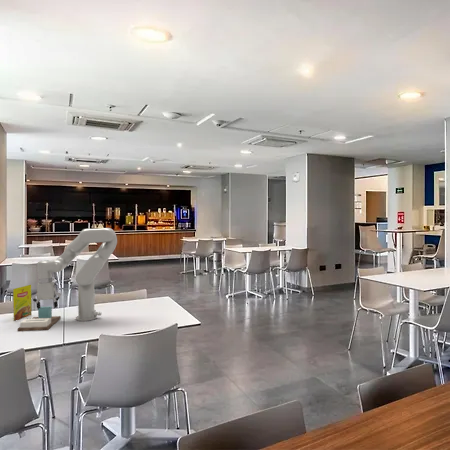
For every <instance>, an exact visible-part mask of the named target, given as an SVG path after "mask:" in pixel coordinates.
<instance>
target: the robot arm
mask: <svg viewBox="0 0 450 450" xmlns="http://www.w3.org/2000/svg"><path fill="white" fill-rule="evenodd" d="M96 243H101V244H100V246H99V247H98V249H97V250H96V252H94V254H93V255H92V256H90V257H89V258H88V259H87V260H86V262H85V263H84V264H83V266H81V268H80V270H78V272H77V274H76V275H75V282H76V283H77V286H78V287H77V288H78V289H77V291H78V293H77V295H78V296H77V299H78V300H77V301H78V303H77V304H78V307H77V312H78V315H76V316H75V321H80V322H89V321H93V320H95V319H97V318H98V317H99V316H101V317H102V312H101V311H96V309H95V283H96V282H95V280H96V279H95V278H96V276H97V275H98V274H99V272H101V270H102V269H103V268H104V266H105V264H106V262H107V261H108V259H109V258H110V257H111V256H112V254H113V253H114V251H115V249H116V247H117V244H118V236H117V234H116V232H115V230H113V229H112V228H110V227H104V228H83V229H82V230H81V231H80V232H79V234H78V235H77V236H76V237H75V238H74V239H73V240H72V241H71V242H70V243H68V245H67V247H66V249H65V250H64V251H63V253H61V254H60V256H58V257H57V258H56V259H54V260H40V261H37V278H38V283H37V286H36V293H35V294H33V295H31V300H32V301H33V302H35V304H36V308H37V310H38V309H39V308H40V307H41V301H42V300H43V301H45V300H53V307H54V308H53V309H57V307H58V301H59V300H60V299H61V297H62V293H61V292H58V291H57V290H56V286H55V282H54V281H55V278H53V275H52V273H59V272H61V271H63V270H64V269H66V268H67V266H69V265H70V264H71V262H72V261H74V260H75V259H76V258H77V257H78V256H79V255H80V254H81V253H82V252H83V251H84V250H85V249H86V248H87V247H88V246H89V245H90V244H96Z"/></svg>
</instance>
